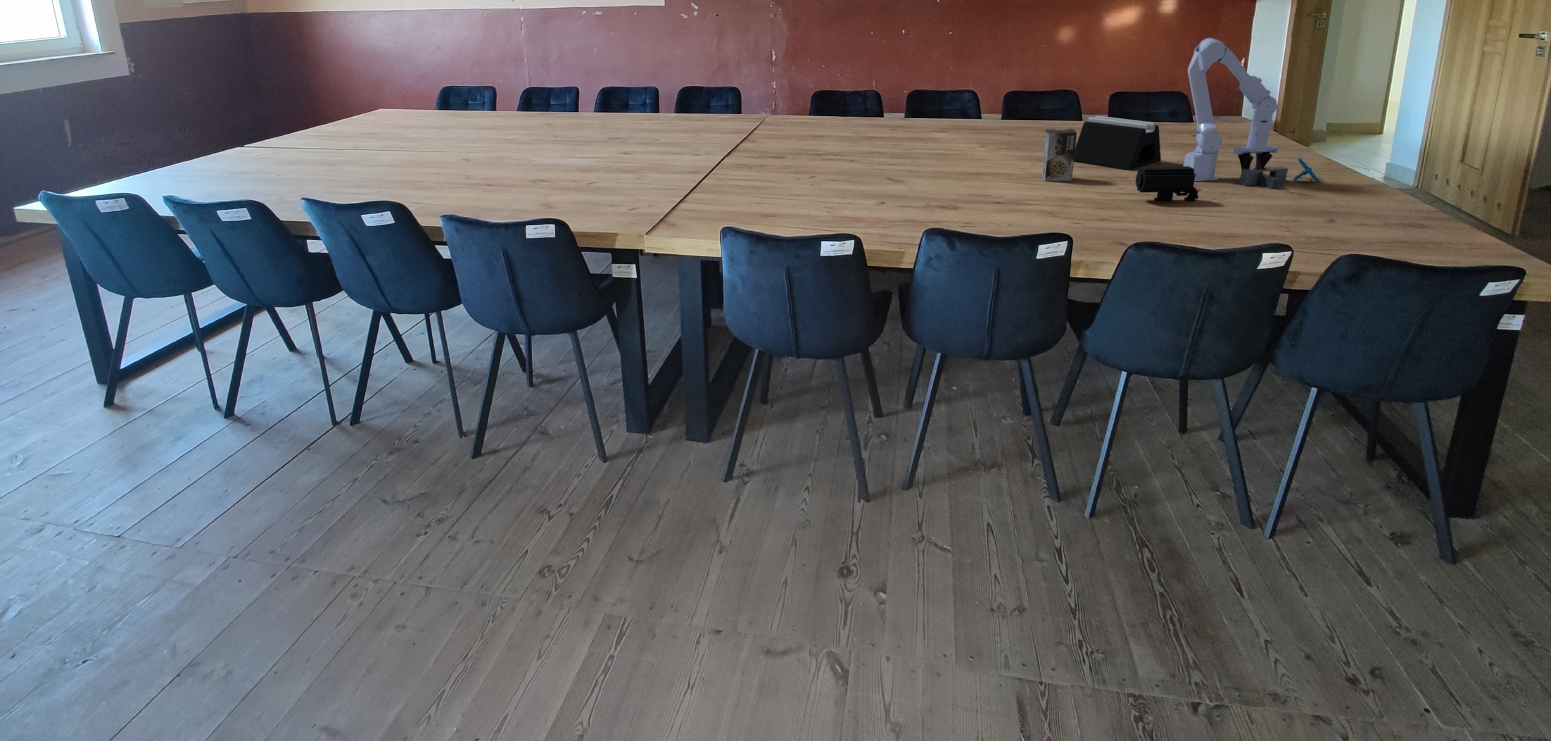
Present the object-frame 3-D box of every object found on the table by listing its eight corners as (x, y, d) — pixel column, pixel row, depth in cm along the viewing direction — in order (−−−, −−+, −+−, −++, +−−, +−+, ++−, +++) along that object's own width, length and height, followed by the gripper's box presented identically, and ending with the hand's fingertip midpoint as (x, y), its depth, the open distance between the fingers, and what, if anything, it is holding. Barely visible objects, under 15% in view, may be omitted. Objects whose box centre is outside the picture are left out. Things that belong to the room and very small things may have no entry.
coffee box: (1068, 177, 308) (1074, 128, 302) (1072, 181, 303) (1077, 132, 296) (1040, 177, 309) (1045, 128, 303) (1044, 181, 303) (1049, 132, 297)
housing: (1244, 186, 293) (1247, 170, 291) (1239, 184, 295) (1242, 168, 293) (1284, 184, 294) (1288, 168, 292) (1278, 182, 297) (1282, 166, 295)
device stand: (1128, 171, 316) (1134, 127, 310) (1071, 162, 332) (1076, 120, 326) (1160, 162, 330) (1167, 119, 324) (1103, 153, 345) (1109, 113, 339)
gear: (1320, 181, 291) (1300, 156, 292) (1303, 192, 294) (1283, 168, 295) (1321, 179, 300) (1302, 155, 301) (1304, 190, 303) (1285, 167, 304)
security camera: (1200, 203, 274) (1206, 170, 270) (1138, 204, 274) (1143, 170, 270) (1191, 197, 280) (1197, 165, 276) (1131, 198, 281) (1135, 166, 276)
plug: (1280, 188, 289) (1283, 177, 288) (1269, 189, 289) (1271, 177, 287) (1252, 178, 303) (1254, 167, 301) (1240, 179, 302) (1243, 168, 301)
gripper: (1245, 136, 290) (1237, 179, 296) (1287, 135, 292) (1278, 177, 297) (1232, 133, 296) (1224, 174, 302) (1273, 131, 298) (1265, 172, 304)
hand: (1250, 175), depth 300 cm, fingers closed on plug, 4 cm apart
